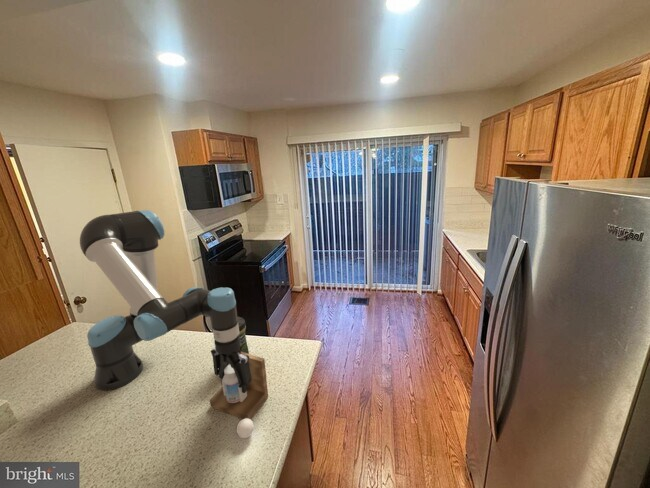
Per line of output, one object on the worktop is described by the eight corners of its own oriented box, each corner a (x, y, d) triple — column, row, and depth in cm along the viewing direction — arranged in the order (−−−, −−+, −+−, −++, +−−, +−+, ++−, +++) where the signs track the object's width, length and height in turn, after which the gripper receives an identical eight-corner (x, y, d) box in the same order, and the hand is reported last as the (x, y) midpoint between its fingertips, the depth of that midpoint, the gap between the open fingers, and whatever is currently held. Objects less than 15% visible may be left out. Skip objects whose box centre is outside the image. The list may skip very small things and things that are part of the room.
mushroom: (241, 426, 81) (240, 413, 80) (256, 427, 81) (255, 414, 79) (235, 442, 76) (233, 429, 75) (250, 443, 76) (249, 430, 75)
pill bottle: (248, 392, 89) (245, 365, 86) (236, 406, 84) (231, 378, 81) (235, 386, 92) (231, 359, 88) (222, 400, 86) (217, 372, 83)
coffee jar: (236, 370, 104) (231, 329, 99) (222, 364, 108) (216, 325, 103) (252, 355, 113) (248, 317, 108) (238, 350, 116) (233, 313, 111)
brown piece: (210, 406, 88) (203, 367, 84) (232, 383, 98) (227, 347, 93) (249, 422, 82) (243, 381, 78) (268, 396, 92) (264, 358, 87)
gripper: (194, 336, 81) (205, 395, 88) (243, 351, 74) (251, 414, 81) (213, 323, 88) (221, 379, 94) (259, 336, 81) (265, 395, 87)
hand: (235, 395), depth 88 cm, fingers closed on pill bottle, 6 cm apart
